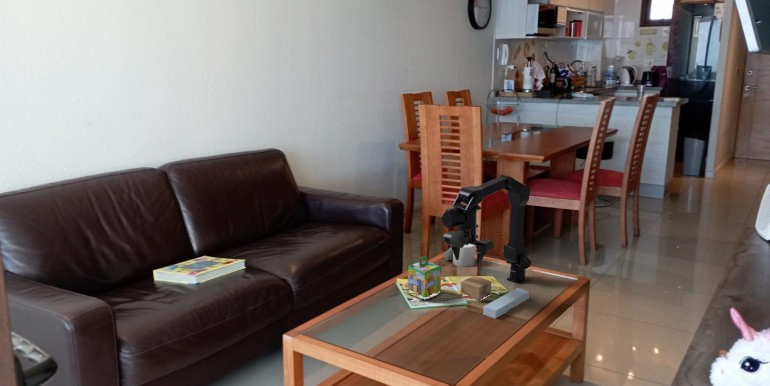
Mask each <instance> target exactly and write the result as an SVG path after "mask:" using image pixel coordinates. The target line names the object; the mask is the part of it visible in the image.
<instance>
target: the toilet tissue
mask: <svg viewBox="0 0 770 386" xmlns="http://www.w3.org/2000/svg"><path fill="white" fill-rule="evenodd" d="M475 250H476V245H472V244H468V245H464V247H462V248H460V255H459V260H456V258H455V255H454V253H453V250H452V248H451V246H450V247H449V248H448V249H447V250H446V251H445V252H444V254H443V255H444V258H445V261H446V262H447V261H451V260H452V264H453V265H455V266H457V267H464V268H465V267H466V268H467V267H472V266H474V265H475V262H476V260H475V259H476V258H475V256H476V251H475Z"/></svg>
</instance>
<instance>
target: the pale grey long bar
mask: <svg viewBox="0 0 770 386" xmlns="http://www.w3.org/2000/svg"><path fill="white" fill-rule="evenodd" d="M528 298H529V299H530V291H528V290H525V289H523V288H519V287H517V288H515V289H513V290H511V291H510V292H507V293H506V294H504V295H502V296H500V297H499V298H496V299H495V300H492V301H491V302H489V303H487V304H485V305H484V306H482V307H483V310H482V314H483V315H484V316H487V317H489V318H492V319H497V318H498V317H501V316H502V315H504V314H505V313H508V312H509V311H511V310H512V309H511V308H513V307H514V306H516V305H517V304H518V303H520V302H522V301H523V300H526V299H528ZM529 299H528V300H529ZM516 307H517V306H516ZM510 309H511V310H510ZM513 309H514V308H513ZM508 310H509V311H508ZM507 311H508V312H507Z"/></svg>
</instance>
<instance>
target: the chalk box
mask: <svg viewBox="0 0 770 386" xmlns="http://www.w3.org/2000/svg"><path fill="white" fill-rule="evenodd" d="M428 259H429V258H428V256H427V255H424V256H421V257H419V258H418V262H416V263H415V262H414V263H413V264H410V265H408V266H407V267H408V269H407V271H408V272H407V274H408V275H407V277H408V278H407V280H408V281H407V282H408V283H407V287H408V289H407V290H411V291H413V292H415V293H417V294H419V295H421V296H423V297H428V296H430V295H432V294H434V293H437V292H439V291H441V287H442V286H441V284H442V283H441V282H442V281H441V280H442V266H440V265H437V264H436V263H434V262H429V260H428Z"/></svg>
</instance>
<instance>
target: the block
mask: <svg viewBox="0 0 770 386" xmlns="http://www.w3.org/2000/svg"><path fill="white" fill-rule="evenodd" d="M492 283H493V282H492V280H489V279H485V278H483V277H480V276H476V275H472V276H470V277H469V278H466V279H464V280H462V281H460V293H461V292H462V293H464V294H466V295H468V296H471V297H472V298H474V299H475V300H477V301H480V300H481V299H483V298H484V297H486V296H488V295H490V294H491V295H492ZM480 302H481V301H480Z"/></svg>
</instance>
